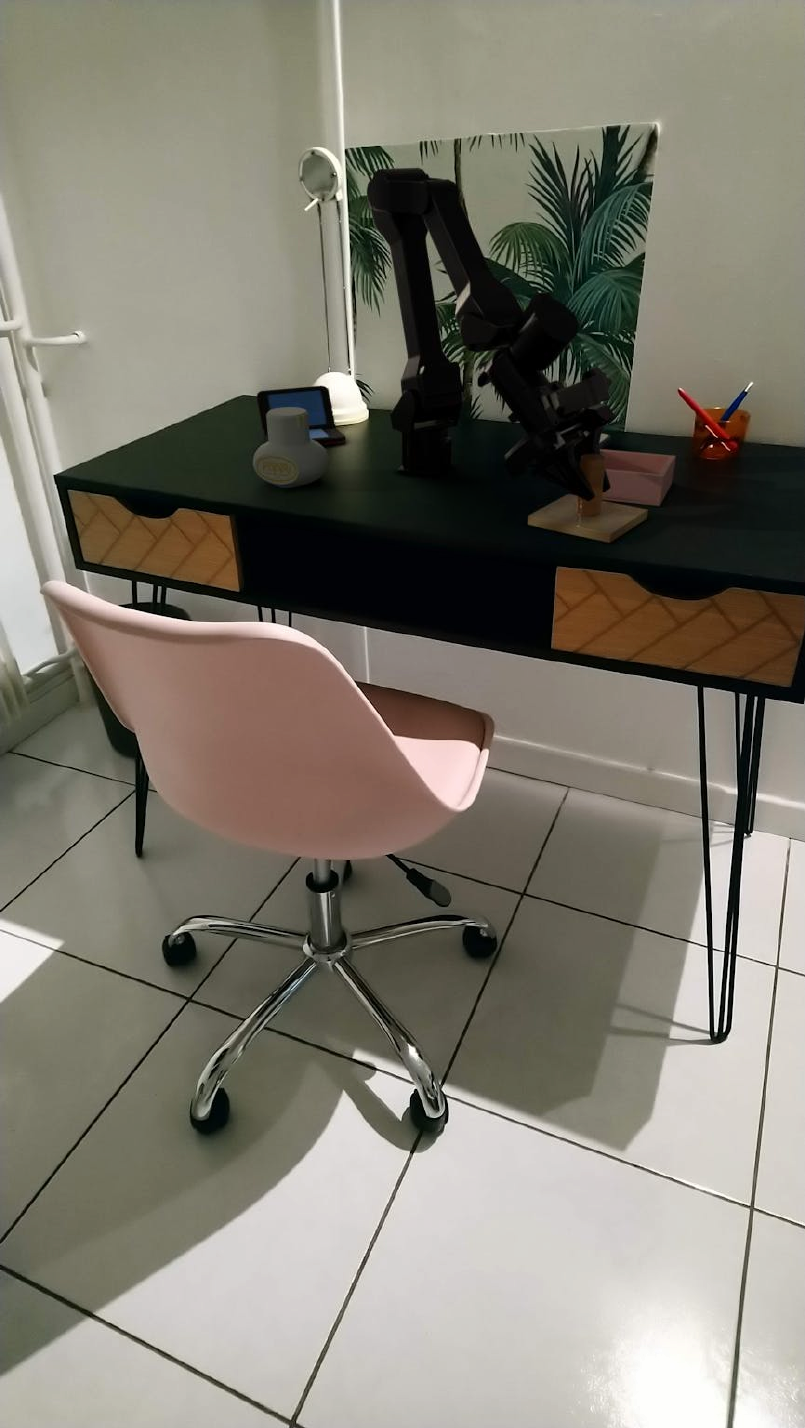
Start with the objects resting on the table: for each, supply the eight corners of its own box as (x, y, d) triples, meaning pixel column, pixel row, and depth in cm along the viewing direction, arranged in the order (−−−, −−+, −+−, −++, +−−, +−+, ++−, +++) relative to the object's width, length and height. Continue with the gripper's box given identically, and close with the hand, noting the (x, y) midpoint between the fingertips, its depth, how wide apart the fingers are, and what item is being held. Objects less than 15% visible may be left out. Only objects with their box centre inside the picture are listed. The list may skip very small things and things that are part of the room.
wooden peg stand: (527, 524, 113) (531, 460, 109) (567, 502, 120) (572, 440, 115) (609, 543, 107) (616, 475, 103) (646, 518, 114) (655, 454, 109)
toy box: (577, 497, 122) (579, 468, 119) (594, 476, 129) (597, 448, 127) (659, 506, 118) (663, 476, 116) (671, 484, 125) (675, 455, 123)
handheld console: (273, 452, 144) (268, 404, 140) (259, 436, 153) (254, 391, 149) (347, 443, 147) (345, 396, 143) (330, 428, 156) (327, 384, 152)
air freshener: (245, 485, 129) (237, 415, 124) (275, 470, 135) (268, 402, 130) (311, 494, 125) (306, 421, 120) (339, 477, 132) (335, 407, 126)
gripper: (531, 360, 98) (612, 475, 98) (608, 335, 111) (680, 437, 111) (470, 423, 107) (545, 530, 107) (548, 393, 119) (615, 489, 119)
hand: (599, 494), depth 111 cm, fingers open, 4 cm apart
